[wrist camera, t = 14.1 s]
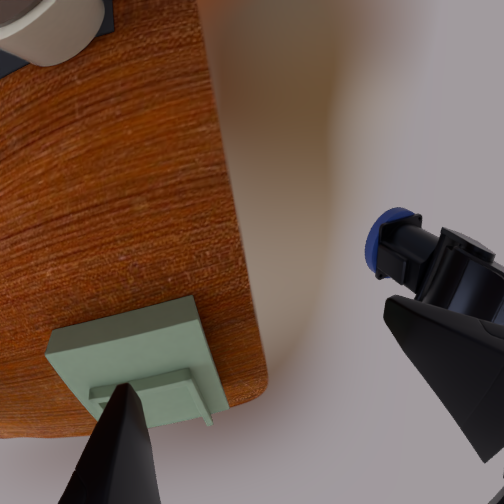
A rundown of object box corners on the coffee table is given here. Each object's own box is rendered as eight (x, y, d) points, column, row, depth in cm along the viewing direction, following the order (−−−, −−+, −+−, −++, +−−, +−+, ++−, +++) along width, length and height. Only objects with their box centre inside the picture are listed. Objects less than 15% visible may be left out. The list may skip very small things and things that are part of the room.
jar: (104, -25, 9) (86, -88, 3) (107, 47, 12) (78, -1, 6) (21, 8, 8) (-28, -31, 2) (21, 81, 11) (-45, 65, 4)
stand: (192, 294, 21) (202, 330, 17) (222, 385, 26) (233, 419, 22) (52, 329, 18) (40, 366, 15) (109, 410, 23) (109, 444, 20)
